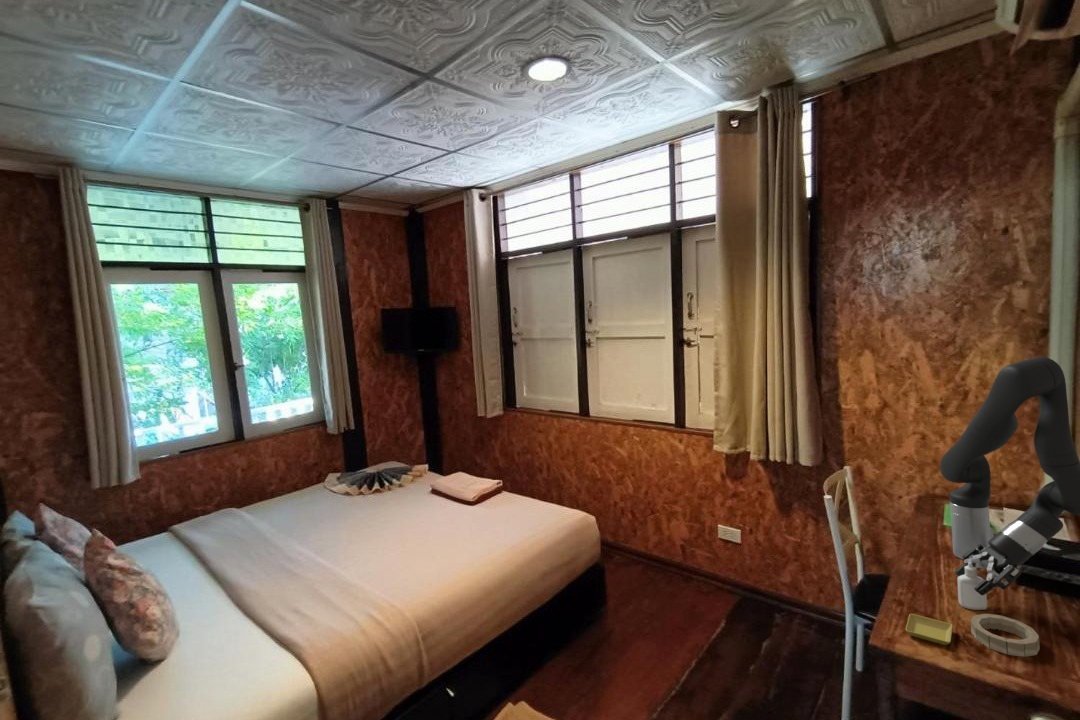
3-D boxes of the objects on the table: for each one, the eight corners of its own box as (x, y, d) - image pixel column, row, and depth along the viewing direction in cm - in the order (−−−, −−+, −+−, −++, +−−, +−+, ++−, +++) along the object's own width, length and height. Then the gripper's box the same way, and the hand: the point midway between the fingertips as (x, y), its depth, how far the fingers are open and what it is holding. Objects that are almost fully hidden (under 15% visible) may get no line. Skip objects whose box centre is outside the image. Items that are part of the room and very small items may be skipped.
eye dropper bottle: (986, 614, 125) (983, 569, 124) (957, 606, 129) (955, 563, 128) (988, 606, 128) (985, 562, 127) (960, 599, 132) (957, 556, 131)
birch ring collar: (1000, 622, 121) (1000, 610, 121) (1053, 651, 110) (1052, 638, 109) (959, 629, 120) (958, 618, 120) (1008, 660, 109) (1007, 647, 108)
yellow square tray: (950, 651, 114) (950, 642, 114) (905, 637, 120) (904, 629, 120) (953, 632, 120) (953, 624, 120) (910, 620, 126) (909, 612, 126)
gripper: (986, 521, 132) (940, 561, 135) (1024, 544, 118) (971, 588, 122) (1010, 540, 131) (963, 580, 134) (1052, 565, 117) (998, 609, 121)
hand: (967, 583), depth 128 cm, fingers open, 8 cm apart
